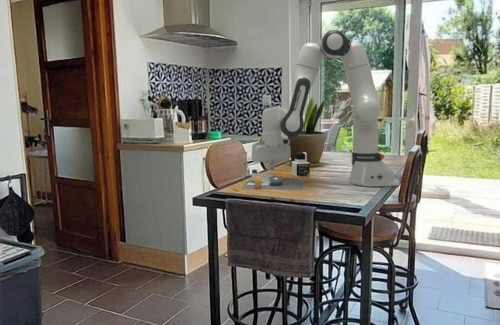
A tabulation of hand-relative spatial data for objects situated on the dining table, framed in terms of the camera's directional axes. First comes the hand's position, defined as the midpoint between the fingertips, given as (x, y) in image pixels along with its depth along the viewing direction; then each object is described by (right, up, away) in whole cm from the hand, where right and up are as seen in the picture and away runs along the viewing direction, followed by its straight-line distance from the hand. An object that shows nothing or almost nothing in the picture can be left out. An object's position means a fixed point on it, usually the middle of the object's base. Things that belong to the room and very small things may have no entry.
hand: (271, 170), depth 200 cm
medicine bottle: (+16, -3, +17) cm, 23 cm away
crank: (-2, -6, -5) cm, 8 cm away
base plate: (+2, -7, -8) cm, 11 cm away
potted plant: (+23, +2, +48) cm, 53 cm away
